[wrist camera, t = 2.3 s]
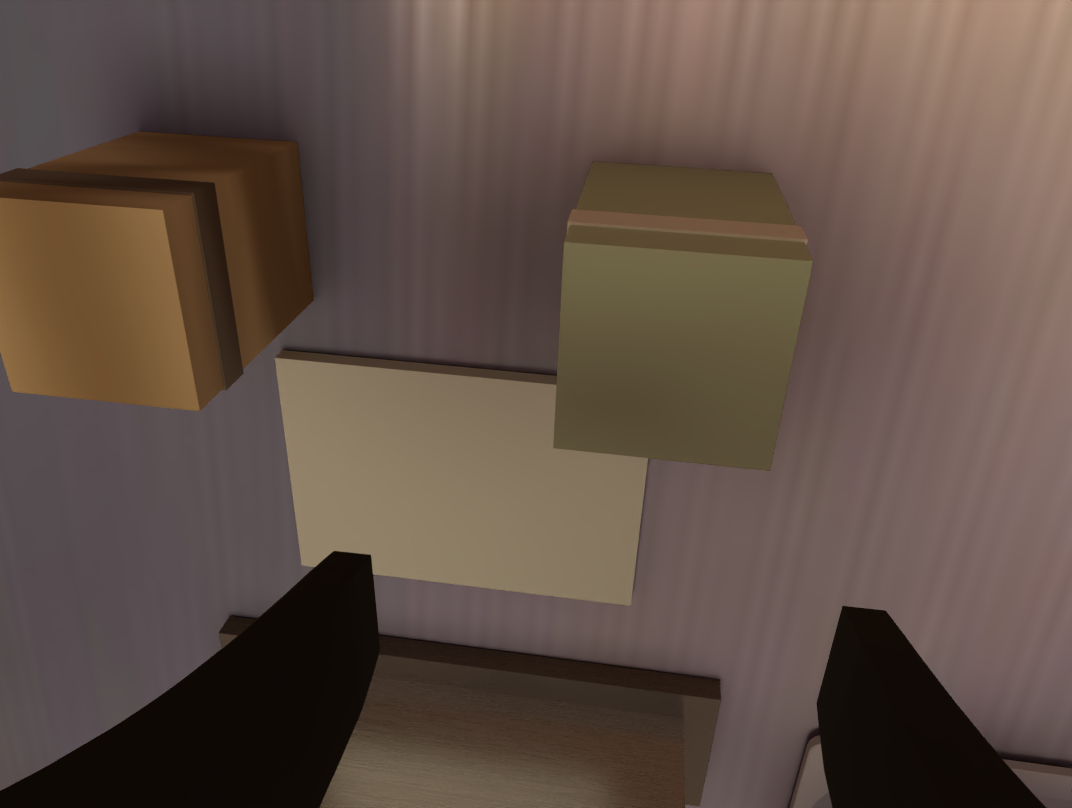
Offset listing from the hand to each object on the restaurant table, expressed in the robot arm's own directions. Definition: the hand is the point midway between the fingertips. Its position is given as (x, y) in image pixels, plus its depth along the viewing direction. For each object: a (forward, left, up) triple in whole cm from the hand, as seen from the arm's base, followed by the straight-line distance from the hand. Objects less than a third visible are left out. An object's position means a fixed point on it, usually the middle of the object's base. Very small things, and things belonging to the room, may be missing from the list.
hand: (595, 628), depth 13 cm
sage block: (-1, -3, -10) cm, 10 cm away
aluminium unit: (+4, +13, -10) cm, 17 cm away
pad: (+4, +4, -10) cm, 11 cm away
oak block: (+10, -3, -10) cm, 14 cm away
